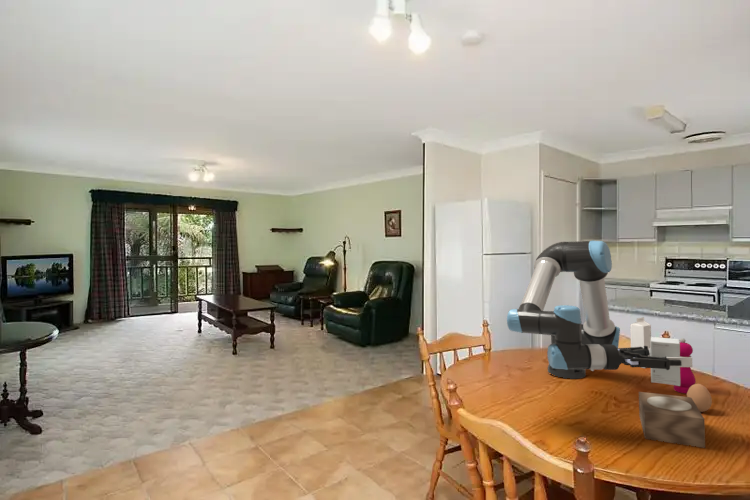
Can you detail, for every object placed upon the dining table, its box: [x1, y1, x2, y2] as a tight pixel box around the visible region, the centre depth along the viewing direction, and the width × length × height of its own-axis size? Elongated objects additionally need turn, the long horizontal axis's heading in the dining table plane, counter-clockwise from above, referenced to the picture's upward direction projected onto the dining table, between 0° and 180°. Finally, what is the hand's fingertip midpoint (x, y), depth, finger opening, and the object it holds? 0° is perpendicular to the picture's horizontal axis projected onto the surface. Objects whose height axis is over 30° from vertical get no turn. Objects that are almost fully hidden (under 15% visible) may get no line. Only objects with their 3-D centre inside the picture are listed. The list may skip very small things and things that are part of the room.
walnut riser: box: [638, 391, 706, 449], centre depth 128 cm, size 14×18×8 cm
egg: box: [686, 383, 713, 413], centre depth 142 cm, size 7×7×9 cm
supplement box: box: [650, 336, 680, 386], centre depth 128 cm, size 7×7×13 cm
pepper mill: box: [673, 338, 697, 395], centre depth 161 cm, size 7×7×20 cm
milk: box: [629, 316, 652, 369], centre depth 194 cm, size 6×6×22 cm
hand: (681, 357), depth 128 cm, fingers closed on supplement box, 9 cm apart
